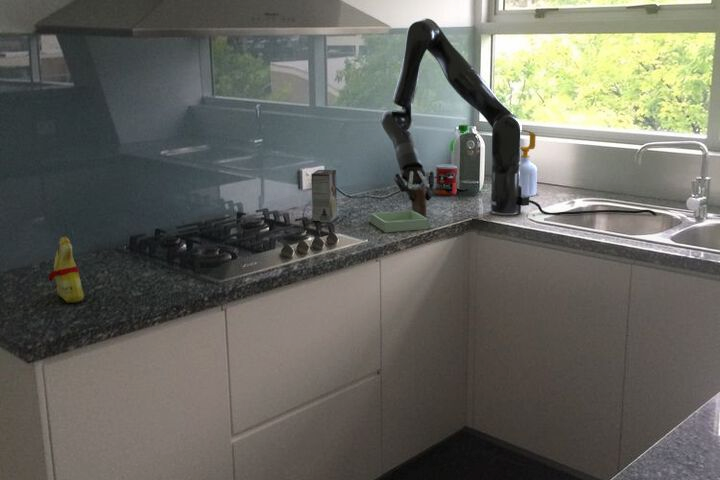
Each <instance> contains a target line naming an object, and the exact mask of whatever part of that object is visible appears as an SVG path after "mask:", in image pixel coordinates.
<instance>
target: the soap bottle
mask: <svg viewBox="0 0 720 480" xmlns="http://www.w3.org/2000/svg"><path fill="white" fill-rule="evenodd" d="M521 132H525V133H527V134H529V145H528V146H520V150H521V152H522V154H520V178H519V185H521V186H522V191H521V195H525V196H527V197H534V196H536V195H537V187H538V186H537V185H538V184H537V182H538V168H537V167H538V166H536V164H534V163H532V161H531V155H530V154H529V152H530V150H534V149H535V147H536V138H537V137H536V133H534V132H533V131H528V130H526V129H523V128H522V129H521Z"/></svg>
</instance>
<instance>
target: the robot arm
mask: <svg viewBox="0 0 720 480" xmlns="http://www.w3.org/2000/svg"><path fill="white" fill-rule="evenodd" d="M404 46H405V48H404V54H403V58H402V59H403V60H402V64H401V68H400V73H399V76H398V79H397V83H396V86H395V89H394V92H393V96H392V102H393V103H394V104H395V105H396V106H399V107H401V110H396V109H386V110H385V111H384V112H383V113H382V115H381V119H380V121H381V126H382V128H383V130H384V132H385V133H386V135H387V136H388V137H389V139H390V140H391V142H392V145H393V148H394V151H395V157H396V161H397V164H398V168H399V170H400V173H395V175H394V177H393V180H394V182H395V184H396V185H397V187H398V188H399V190H400V192H402V193H403V192H405V193H407V196H408V199H409V201H411V203H412V202H414V200H415V195H414V192H413V189H412V188H413V185H418V187H423V188H426V202H427V201H430V200H431V198H432V196H433V195H432V192H431V191H432V190H433V188H434V186H435V173H434V171H429V172H426V171H425V169H424V168H423V167H424V166H423V163H422V160H421V157H420V154H419V151H418V148H417V146H416V144H415V141H414V138H413V135H412V132H411V131H410V130H409V129H410V128H411V126H412V125H413V123H412V122H413V105H414V101H415V96H416V93H417V90H418V86H419V80H420V68H421V64H422V61H423V58H424V56H425V54H426V52H427V51H428V52H429V53H430V55H431V56H432V57H434V59H435V60H436V61H437V63H438V64H439V67H440V68H441V71H442V73H443V75H444V77H445V79H446V80H447V82H448V84H449V85H450V86H451V87H452V88H453V90H454V91H455V92H456V94H458V95H459V96H460V97H461V98H462V99H463V100H464V101H465V102H466V103H467V104H468V105H470V106H471V107H472V108H473V109H475V110H476V111H478V112H479V113H480V114H481V115H482V116H483V118H484V119H485V120H486V121H487V123H488V125H490V127H491V128H492V130H491V193H490V200H489V203H490V214H492V215H495V216H505V217H506V216H515V215H521V213H522V206H523V207H524V206H525V207H526V206H530V204H533V205H534V206H536V207H537V208H538V210H539V212H540V213H542V214H544V215H550V216H559V215H580V214H582V215H583V214H599V213H602V214H603V213H604V214H605V213H619V214H641V213H642V214H643V213H650V214H652V215H653V216H658V215H657V213H656V212H655V211H653V210H651V209H639V210H627V209H626V210H625V209H597V210H596V209H594V210H579V211H577V210H576V211H558V212H556V211H555V212H549V211H545V210H543V208H542V206H541V205H540V204H539V202H537V201H534V200H531V199H530V196H528V197H527V196H525V195H521V191H522V186H521V185H519V178H520V161H521V149H520V147H521V135H522V130H523V128H522V127H523V125H522V122H521V120H520V119H519V117H518V116H517V115H515V114H514V113H513V112H512V111H511V110H510V109H509V108H508V107H507V106H505V105H504V104H503V102H501V100H500V99H498V97H497V96H496V95H495V93H494V92H493V90H492V89H491V87H490V86H489V85H488V84H487V82H486V81H485V80H484V79H483V77H482V76H481V75H480V74H479V73H478V71H476V69H475V68H474V66H472V65H471V64H470V63H469V62H468V61H467V59H465V58H464V56H463V55H462V54H461V52H459V51H458V50H457V49H456V47H454V46H453V45H452V43H451V42H450V40H449V39H448V38H447V36H446V34H445V33H444V32H443V30H442V29H441V28H440V26H439V25H438V24H437V22H436V21H434V20H433V19H431V18H425V17H424V18H420V19H418V20H415V21H414V22H412V23H411V24H410V25H409V27H408V29H407V32H406V39H405V45H404ZM521 129H522V130H521ZM425 177H426V178H425ZM427 180H428V181H427ZM405 182H406V184H405Z"/></svg>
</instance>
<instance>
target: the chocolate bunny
mask: <svg viewBox="0 0 720 480" xmlns="http://www.w3.org/2000/svg"><path fill="white" fill-rule="evenodd" d="M74 259H75V258H74V256H73V245H72V243H71V241H70V239H69V238H68V237H67V236H63V237H62V236H61V238H60V239H59V243H58V249H57V251H56V253H55V256H54V260H53V270H51V271H50V274H49V275H48V280H49V282H52V281H53V280H55V283H56V284H55V285H56V289H57V292H56V293H57V294H58V296H59V297H60V298H62V299H63V300H64V301H65V302H66V303H67V304H76V303H80V302H81V301H83V300H84V298H85V295H84V291H83V288H82V281H81V277H80V273H79V272H80V270H79V266H77V264H76V262H75V260H74Z"/></svg>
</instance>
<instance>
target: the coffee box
mask: <svg viewBox="0 0 720 480" xmlns="http://www.w3.org/2000/svg"><path fill="white" fill-rule="evenodd" d="M310 174H311V208H312V221H313V220H316V219H318V220H320V221H321V222H320V223H332V222H333V221H334V220H335V219H336V218H337V217H338V201H337V200H338V199H337V198H338V197H337V195H338V194H337V169H318V170H315V171H314V172H312V173H310Z"/></svg>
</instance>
